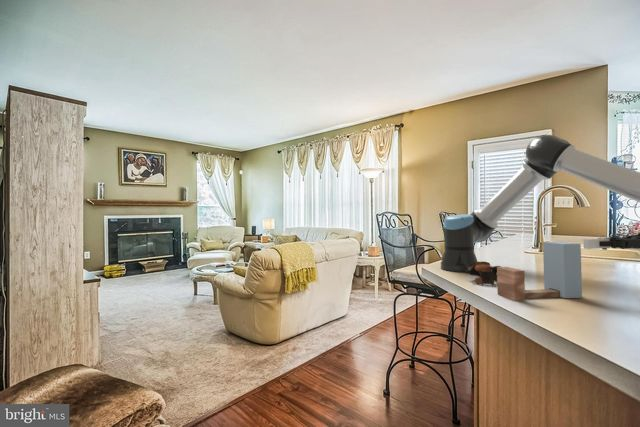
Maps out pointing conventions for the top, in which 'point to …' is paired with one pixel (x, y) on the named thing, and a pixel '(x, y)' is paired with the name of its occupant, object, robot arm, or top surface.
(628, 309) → the top surface
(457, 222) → the robot arm
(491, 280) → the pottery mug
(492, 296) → the top surface
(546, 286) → the blue-grey tall block
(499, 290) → the wooden mallet
